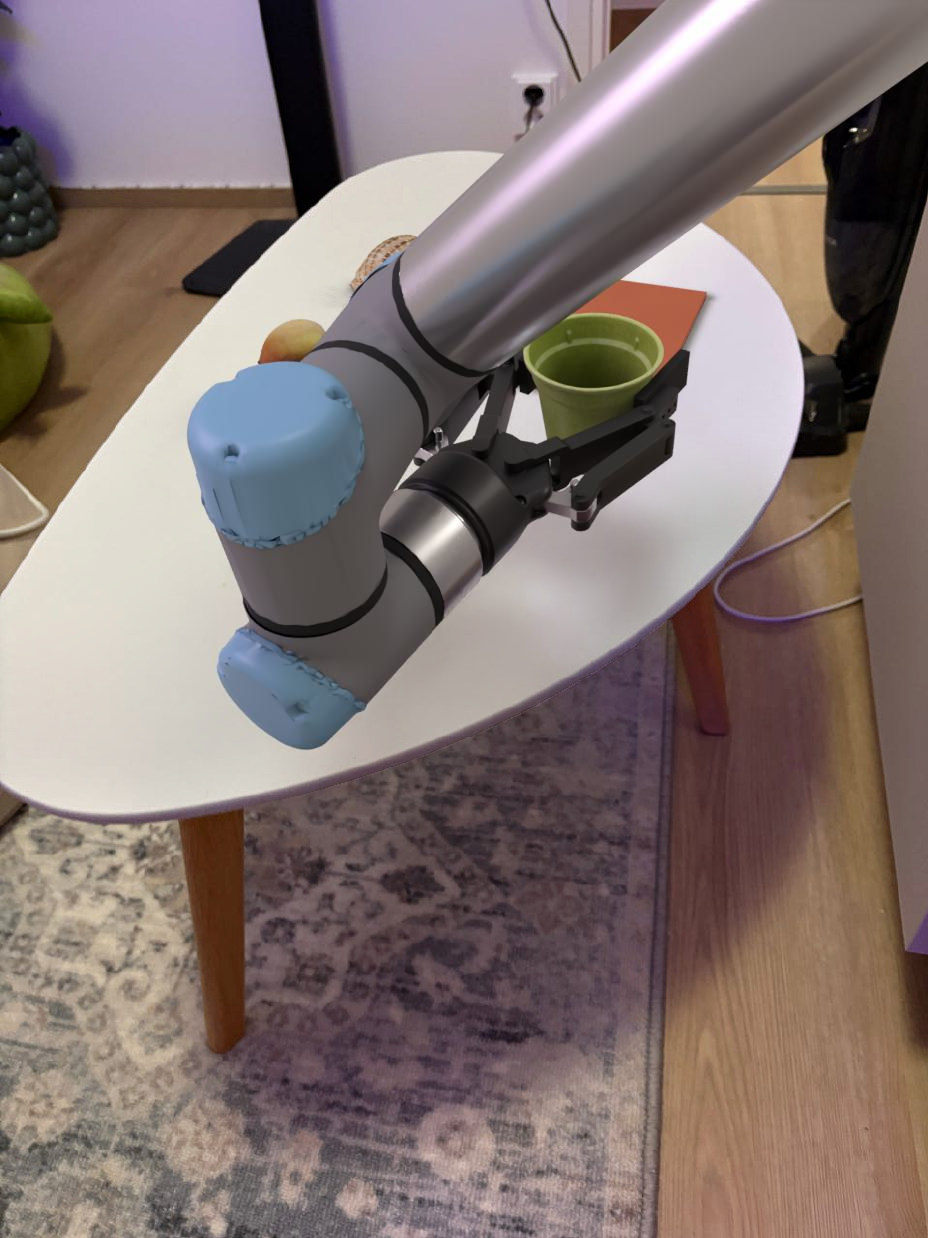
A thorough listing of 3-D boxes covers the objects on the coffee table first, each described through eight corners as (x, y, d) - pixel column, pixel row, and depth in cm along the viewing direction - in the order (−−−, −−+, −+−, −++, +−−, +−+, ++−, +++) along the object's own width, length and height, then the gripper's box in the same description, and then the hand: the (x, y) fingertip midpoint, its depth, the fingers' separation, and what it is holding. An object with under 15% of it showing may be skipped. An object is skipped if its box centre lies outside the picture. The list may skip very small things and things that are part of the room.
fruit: (343, 427, 86) (327, 351, 80) (258, 423, 88) (236, 348, 82) (363, 379, 91) (349, 304, 85) (282, 376, 93) (263, 302, 87)
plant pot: (621, 400, 74) (626, 299, 67) (677, 471, 68) (688, 367, 61) (510, 431, 72) (504, 331, 66) (556, 506, 66) (554, 404, 60)
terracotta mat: (706, 296, 96) (706, 291, 96) (653, 409, 85) (653, 404, 84) (523, 271, 102) (523, 266, 102) (450, 373, 91) (450, 367, 90)
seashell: (397, 336, 101) (461, 269, 101) (369, 299, 96) (437, 228, 96) (358, 308, 105) (420, 244, 105) (330, 271, 100) (395, 203, 100)
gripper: (320, 520, 64) (507, 354, 75) (589, 647, 55) (756, 436, 66) (296, 431, 58) (502, 266, 70) (591, 555, 49) (774, 342, 60)
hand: (625, 349), depth 68 cm, fingers closed on plant pot, 8 cm apart
